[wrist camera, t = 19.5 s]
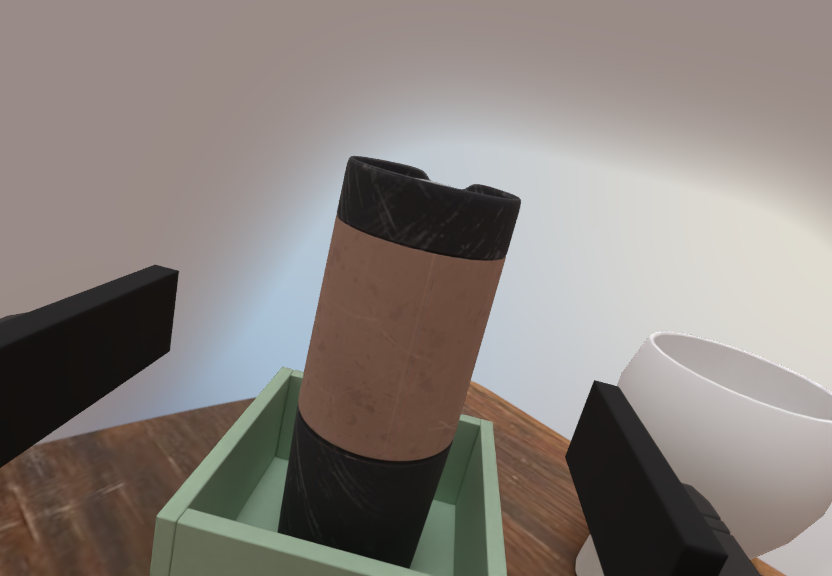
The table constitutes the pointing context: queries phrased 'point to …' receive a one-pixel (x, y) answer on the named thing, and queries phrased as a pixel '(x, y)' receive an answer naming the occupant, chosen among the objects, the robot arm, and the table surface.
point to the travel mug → (391, 355)
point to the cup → (733, 436)
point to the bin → (302, 560)
